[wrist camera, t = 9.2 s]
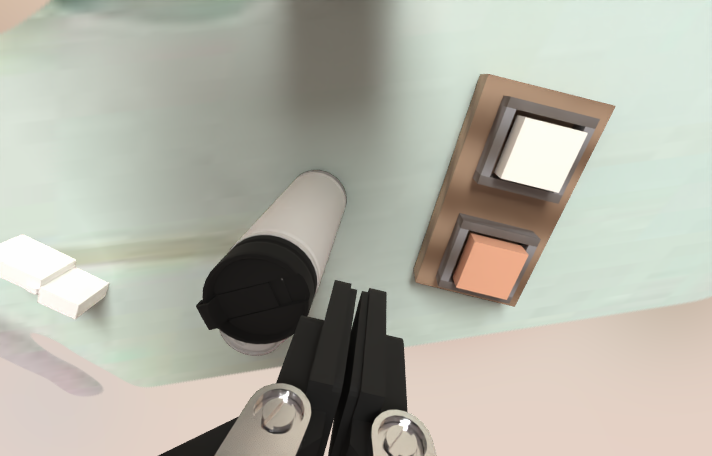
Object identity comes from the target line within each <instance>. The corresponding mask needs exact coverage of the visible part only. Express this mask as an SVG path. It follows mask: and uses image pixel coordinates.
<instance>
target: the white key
mask: <svg viewBox="0 0 712 456" xmlns="http://www.w3.org/2000/svg"><path fill="white" fill-rule="evenodd" d="M587 134H588V133H586V132H583V131H579V130H575V129H571V128H567V127H563V126H559V125H555V124H551V123H547V122H543V121H539V120H535V119H531V118H527V117H523V116H519V115H517V116H516V119H515V122H514V124H513V127H512V129H511V132H510V134H509V137H508V139H507V142H506V144H505V147H504V149H503V152H502V154H501V157H500V159H499V162H498V164H497V167H496V169H495V172H494V173H495V174H496V175H497V176H499V177H500V178H501V179H505V180H509V181H513V182H517V183H521V184H525V185H529V186H533V187H537V188H541V189H545V190H549V191H553V192H557V193H559V192H560V190H561V188H562V186H563V183H564V181H565V179H566V177H567V175H568V173H569V171H570V169H571V167H572V165H573V163H574V161H575V159H576V157H577V155H578V153H579V151H580V149H581V146H582V144H583V142H584V140H585V138H586V136H587Z"/></svg>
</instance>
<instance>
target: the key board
mask: <svg viewBox="0 0 712 456" xmlns="http://www.w3.org/2000/svg"><path fill="white" fill-rule="evenodd" d="M614 108H615V106H613V105H610V104H606V103H602V102H598V101H594V100H590V99H586V98H582V97H578V96H574V95H570V94H566V93H562V92H558V91H554V90H550V89H546V88H542V87H538V86H534V85H530V84H526V83H522V82H518V81H514V80H510V79H506V78H502V77H498V76H494V75H490V74H480V76H479V79H478V82H477V85H476V88H475V91H474V94H473V97H472V100H471V103H470V106H469V109H468V112H467V114H466V117H465V120H464V123H463V126H462V129H461V132H460V135H459V138H458V141H457V144H456V147H455V150H454V152H453V155H452V158H451V161H450V164H449V167H448V170H447V173H446V176H445V179H444V182H443V185H442V188H441V190H440V193H439V196H438V199H437V202H436V205H435V208H434V211H433V214H432V217H431V220H430V223H429V226H428V229H427V231H426V234H425V237H424V240H423V243H422V246H421V249H420V252H419V255H418V258H417V261H416V264H415V267H414V274H415V282H416V283H420V284H424V285H428V286H432V287H436V288H440V289H445V290H449V291H453V292H457V293H461V294H465V295H469V296H473V297H477V298H481V299H485V300H489V301H493V302H498V303H502V304H506V305H510V306H514V307H515V305H516V303H517V301H518V299H519V297H520V295H521V293H522V291H523V289H524V287H525V285H526V283H527V281H528V279H529V277H530V275H531V273H532V271H533V269H534V267H535V265H536V263H537V261H538V259H539V258H540V256H541V254H542V252H543V250H544V248H545V246H546V244H547V242H548V240H549V238H550V236H551V234H552V232H553V230H554V228H555V226H556V224H557V222H558V220H559V218H560V216H561V214H562V212H563V210H564V208H565V206H566V204H567V202H568V200H569V198H570V196H571V194H572V192H573V190H574V188H575V186H576V184H577V182H578V180H579V178H580V176H581V174H582V172H583V170H584V168H585V166H586V164H587V162H588V160H589V158H590V156H591V154H592V152H593V150H594V148H595V146H596V144H597V142H598V140H599V138H600V136H601V134H602V132H603V130H604V128H605V126H606V124H607V122H608V120H609V118H610V116H611V114H612V112H613V110H614ZM517 115H519V116H523V117H527V118H531V119H535V120H539V121H543V122H547V123H551V124H555V125H559V126H563V127H567V128H571V129H575V130H579V131H583V132H586V133H588V134H587V136H586V138H585V140H584V142H583V144H582V146H581V149H580V151H579V153H578V155H577V157H576V159H575V161H574V163H573V165H572V167H571V169H570V171H569V173H568V175H567V177H566V179H565V181H564V183H563V186H562V188H561V190H560V192H559V193H557V192H553V191H549V190H545V189H541V188H537V187H533V186H529V185H525V184H521V183H517V182H513V181H509V180H505V179H501V178H500V177H499V176H497V175H496V174H495V173H494V172H495V169H496V167H497V164H498V162H499V159H500V157H501V154H502V152H503V149H504V147H505V144H506V142H507V139H508V137H509V134H510V132H511V129H512V127H513V124H514V122H515V119H516V116H517ZM470 233H473V234H477V235H481V236H485V237H489V238H493V239H497V240H501V241H506V242H510V243H514V244H518V245H521V246H522V247H523V248H524V250H525V251H526V252H527V253H528V258H527V260H526V262H525V264H524V266H523V268H522V270H521V272H520V274H519V276H518V278H517V280H516V282H515V284H514V286H513V288H512V290H511V292H510V294H509V297H508V299H507V300H505V299H501V298H497V297H493V296H489V295H485V294H480V293H476V292H472V291H468V290H464V289H460V288H456V285H455V282H454V279H453V275H454V272H455V270H456V267H457V265H458V262H459V260H460V257H461V255H462V252H463V250H464V247H465V245H466V242H467V240H468V237H469V235H470Z"/></svg>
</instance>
